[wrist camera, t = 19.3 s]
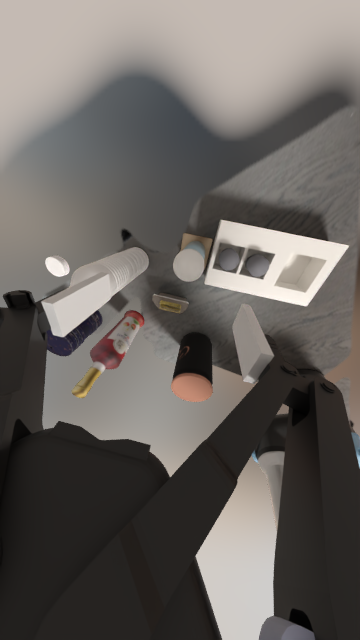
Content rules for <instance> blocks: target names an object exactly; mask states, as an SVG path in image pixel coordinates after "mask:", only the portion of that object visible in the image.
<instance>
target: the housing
mask: <svg viewBox="0 0 360 640" xmlns="http://www.w3.org/2000/svg"><path fill="white" fill-rule="evenodd" d="M348 247H349V246H348V245H343V244H338V243H333V242H328V241H323V240H319V239H314V238H309V237H304V236H299V235H294V234H289V233H284V232H279V231H274V230H270V229H265V228H260V227H255V226H250V225H245V224H240V223H235V222H230V221H225V220H220V221H219V225H218V229H217V233H216V236H215V240H214V244H213V248H212V252H211V256H210V259H209V263H208V267H207V271H206V275H205V283H204V284H207V285H212V286H216V287H221V288H225V289H230V290H234V291H239V292H243V293H248V294H252V295H257V296H261V297H266V298H270V299H275V300H279V301H284V302H289V303H293V304H298V305H302V306H307V305H308V304H309V302H310V301H311V300H312V298H313V297H314V295H315V294H316V292H317V291H318V290H319V288H320V287H321V285H322V284H323V282H324V281H325V280H326V278H327V277H328V275H329V274H330V272H331V271H332V270H333V268H334V267H335V265H336V264H337V262H338V261H339V260H340V258H341V257H342V255H343V254H344V252H345V251H346V250H347V248H348ZM226 248H232V249H234V250H235V251H236V253H237V254H238V256H239V263H238V265H237V267H236V268H234V269H233V270H224V269H223V268H222V267H221V266H220V262H219V255H220V253H221V251H223V250H224V249H226ZM253 254H260V255H262V256H263V257H265V258H266V259H267V260H268V261H269V269H268V271H267V272H266V273H265V274H264V275H262V276H259V277H255V276H252V275H251V274H250V273H249V271H248V270H247V268H246V261H247V259H248V258H249V257H250V256H251V255H253Z"/></svg>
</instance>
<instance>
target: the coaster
mask: <svg viewBox="0 0 360 640" xmlns="http://www.w3.org/2000/svg"><path fill="white" fill-rule="evenodd" d="M212 240H213V239H210V238H206V237H201V236H196V235H191V234H187V233H183V239H182V245H181V251H182V250H183V249H184V248H185V247H186V246H187V245H188V244H189V243H190V242H192V241H199V242H201V243H202V244H203V245H204V247H205V258H204V269H205V267H206V264H207V260H208V256H209V252H210V248H211V244H212Z"/></svg>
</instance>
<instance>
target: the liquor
mask: <svg viewBox="0 0 360 640" xmlns="http://www.w3.org/2000/svg"><path fill="white" fill-rule="evenodd" d="M143 325H144V318H143V316H142V315H141V314H140V313H138V312H137V311H133V310H131V311H127V312H126V313H125V316H124V318H122V320H121V321H120V322H119V323H118V324H117V325H116V326H115V327H114V328H113V329H112V330H111V331H110V332H109V333H107V335H105V337H103V339H101V340H100V341H99V342H98V343H97V344H96V346H94V347H93V348H92V350H91V351H90V356H91V358H92V360H93V362H94V363H93V364H92V366H91V367H90V369H89V370H88V372H87V373H86V375H85V376H84V378H82V379H81V380H80V381H79V382H78V383H77V385H76V386H75V387H74V388H73V390H72V394H73V395H75V396H76V397H79V398H84V397H85V396H86V394H87V393H88V392H89V390H90V389H91V387H92V384H93V383H94V381H95V380H96V379H97V378H98V377H99V376H100V374H101V373H102V372H103V371H104V370H105V369H115V368H117V367H118V366H119V364H120V362H121V361H122V359H123V357H124V355H125V354H126V352H127V350H128V348H129V346H130V344H131V343H132V341H133V339H134V337H135V335H136V334H137V332H138V330H139V328H140V327H142V326H143Z"/></svg>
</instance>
